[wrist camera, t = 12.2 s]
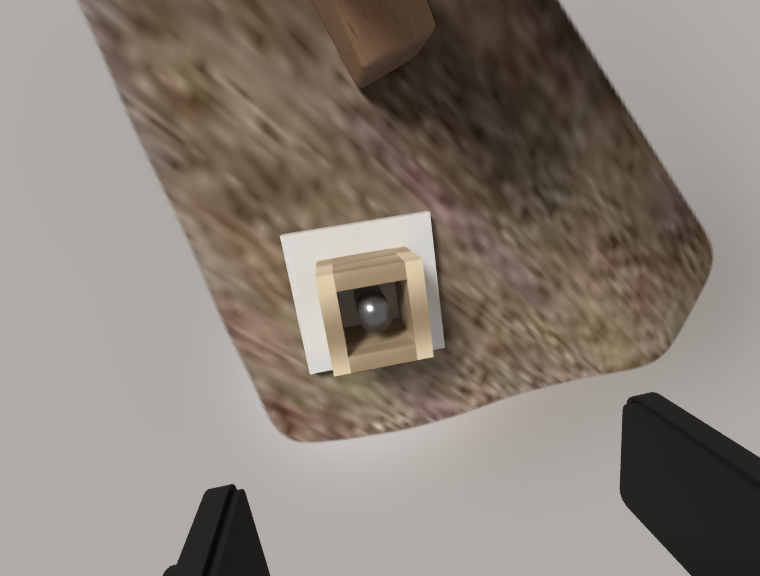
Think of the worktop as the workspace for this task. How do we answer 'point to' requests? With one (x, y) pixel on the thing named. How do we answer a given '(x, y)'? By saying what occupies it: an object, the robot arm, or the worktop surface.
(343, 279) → the maple collar
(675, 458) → the robot arm
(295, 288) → the pin plate
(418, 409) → the worktop surface
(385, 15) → the wooden block
